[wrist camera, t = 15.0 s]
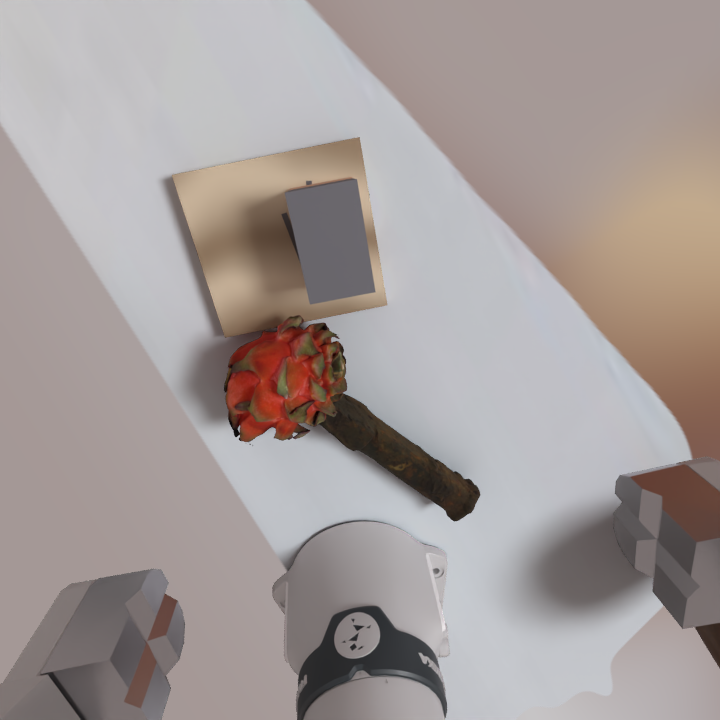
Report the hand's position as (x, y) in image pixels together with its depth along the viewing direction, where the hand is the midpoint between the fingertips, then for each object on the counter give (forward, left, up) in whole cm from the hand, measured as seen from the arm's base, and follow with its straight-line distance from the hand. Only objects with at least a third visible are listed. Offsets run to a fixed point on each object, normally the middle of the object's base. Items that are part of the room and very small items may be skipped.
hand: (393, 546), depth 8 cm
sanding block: (+2, 0, -28) cm, 28 cm away
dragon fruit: (-8, +6, -29) cm, 31 cm away
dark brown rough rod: (-18, -1, -29) cm, 34 cm away
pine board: (+2, +3, -29) cm, 29 cm away
